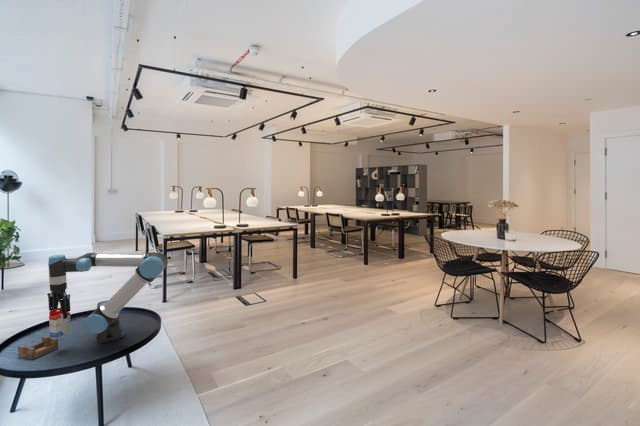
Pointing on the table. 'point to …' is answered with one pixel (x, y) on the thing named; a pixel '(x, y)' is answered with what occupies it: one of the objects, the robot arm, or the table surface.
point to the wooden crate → (38, 348)
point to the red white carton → (58, 324)
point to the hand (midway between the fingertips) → (60, 323)
